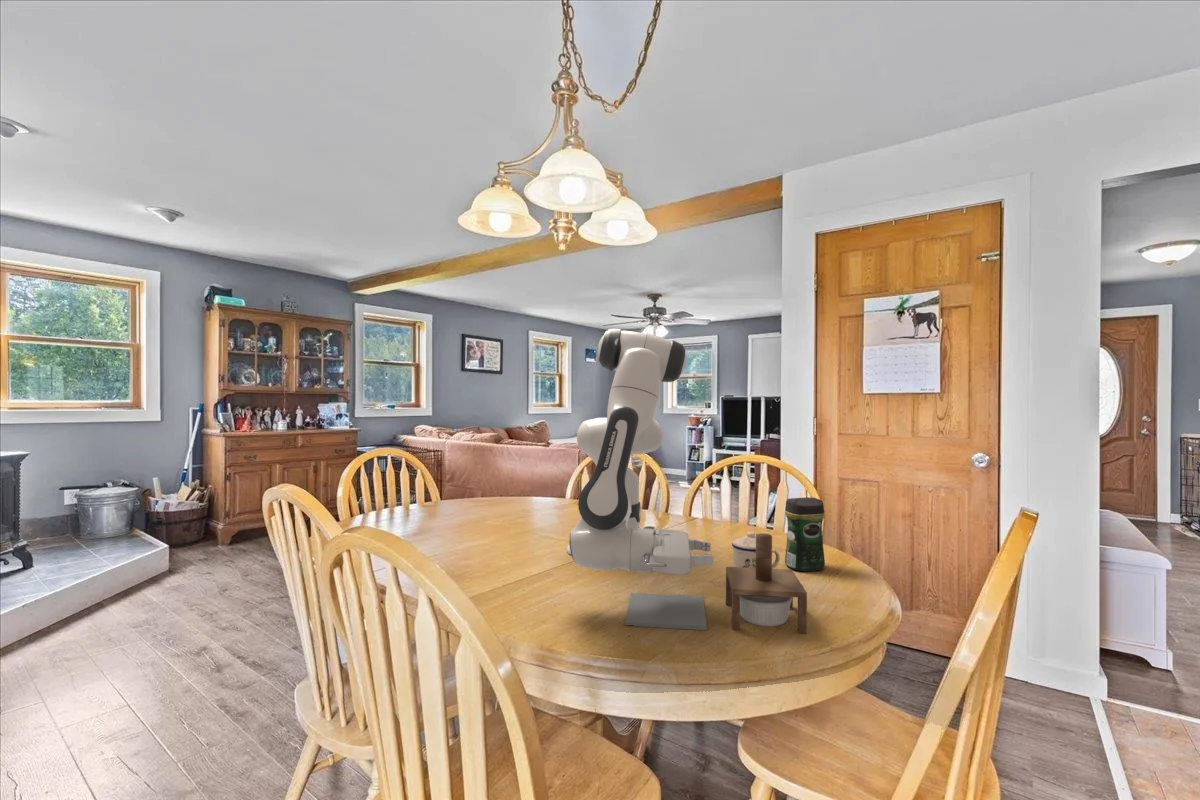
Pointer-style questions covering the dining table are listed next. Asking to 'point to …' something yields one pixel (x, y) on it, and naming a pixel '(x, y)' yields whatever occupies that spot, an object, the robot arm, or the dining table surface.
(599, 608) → the dining table surface
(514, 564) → the dining table surface
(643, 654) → the dining table surface
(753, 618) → the ramekin
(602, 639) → the dining table surface
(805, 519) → the coffee jar
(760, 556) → the walnut cover
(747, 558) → the teacup with lid
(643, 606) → the grey rubber mat
